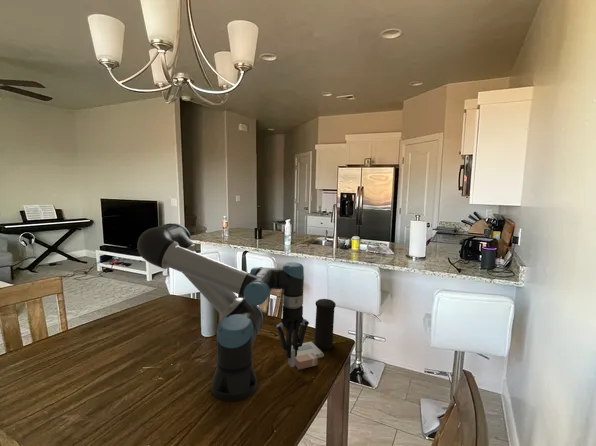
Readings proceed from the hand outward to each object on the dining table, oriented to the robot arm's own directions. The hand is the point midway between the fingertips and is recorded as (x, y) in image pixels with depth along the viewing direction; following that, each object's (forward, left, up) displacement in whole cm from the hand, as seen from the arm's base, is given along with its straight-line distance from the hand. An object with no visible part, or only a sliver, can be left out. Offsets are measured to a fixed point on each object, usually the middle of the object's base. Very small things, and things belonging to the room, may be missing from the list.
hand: (291, 364), depth 121 cm
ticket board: (+10, +8, -2) cm, 13 cm away
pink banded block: (+6, 0, -2) cm, 6 cm away
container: (+20, +11, -2) cm, 23 cm away
